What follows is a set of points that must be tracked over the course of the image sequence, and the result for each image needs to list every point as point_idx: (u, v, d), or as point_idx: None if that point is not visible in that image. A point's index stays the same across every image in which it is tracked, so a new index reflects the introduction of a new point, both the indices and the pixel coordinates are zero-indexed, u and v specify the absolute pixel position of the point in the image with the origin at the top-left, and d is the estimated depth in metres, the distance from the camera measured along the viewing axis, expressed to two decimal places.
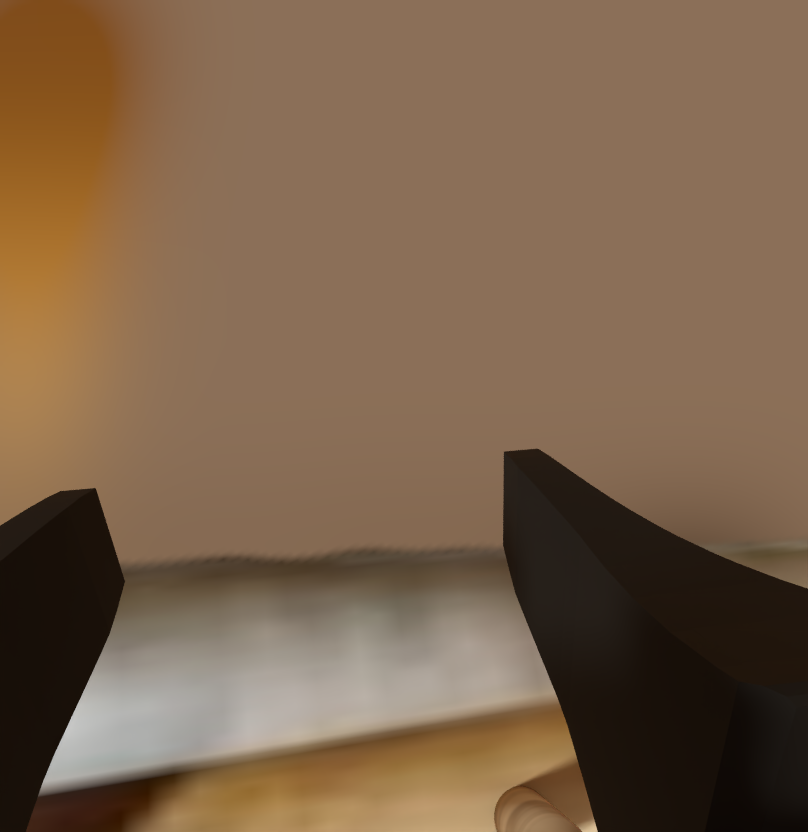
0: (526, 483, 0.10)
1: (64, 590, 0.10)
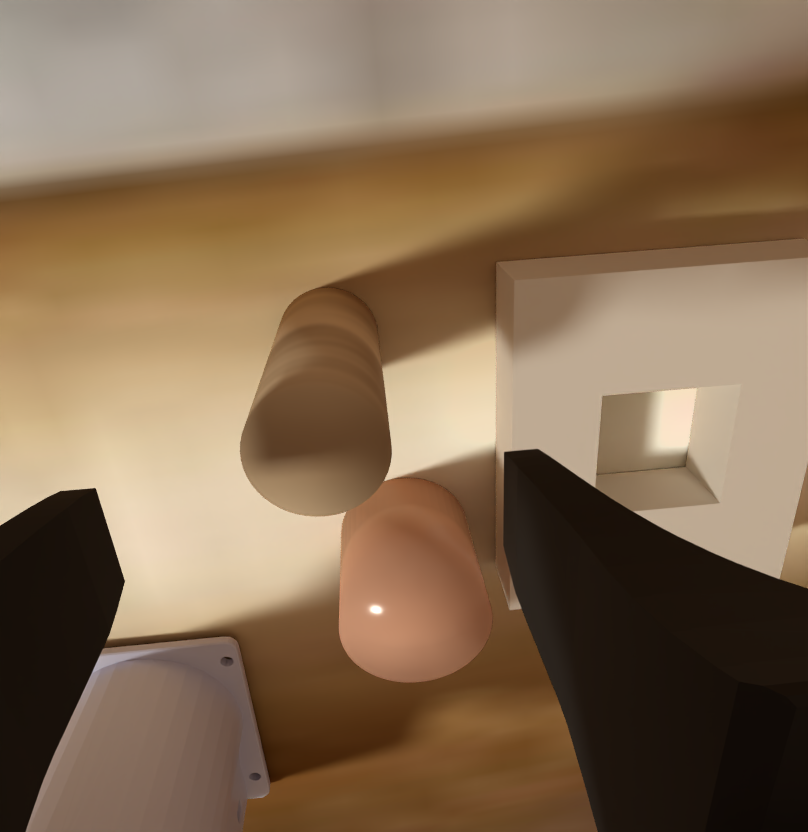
0: (526, 483, 0.10)
1: (64, 590, 0.10)
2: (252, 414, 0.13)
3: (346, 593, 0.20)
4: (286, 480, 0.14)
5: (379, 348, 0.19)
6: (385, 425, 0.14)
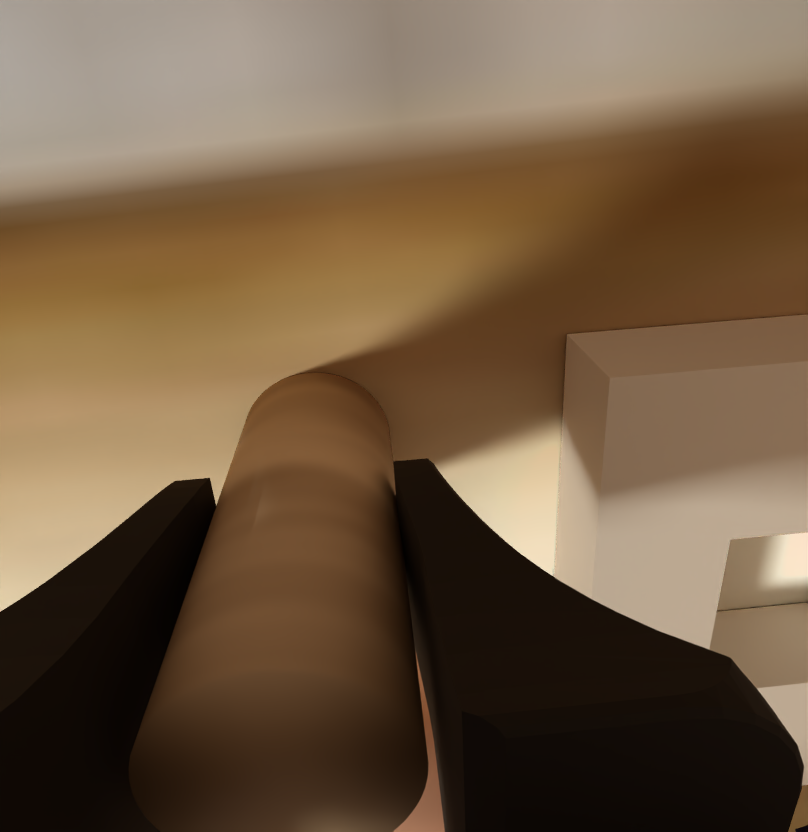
0: (400, 495, 0.10)
1: None
2: (148, 724, 0.06)
3: None
4: (225, 820, 0.07)
5: None
6: (417, 727, 0.07)
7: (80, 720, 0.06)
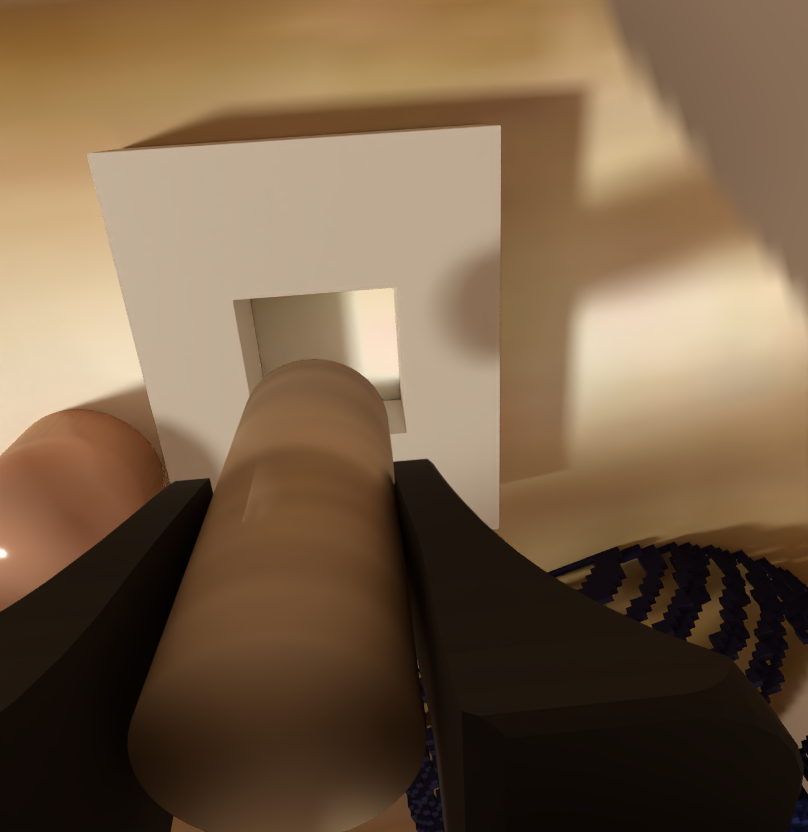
0: (400, 494, 0.10)
1: None
2: (142, 701, 0.06)
3: None
4: (227, 795, 0.07)
5: (391, 457, 0.12)
6: (411, 694, 0.07)
7: (79, 720, 0.06)
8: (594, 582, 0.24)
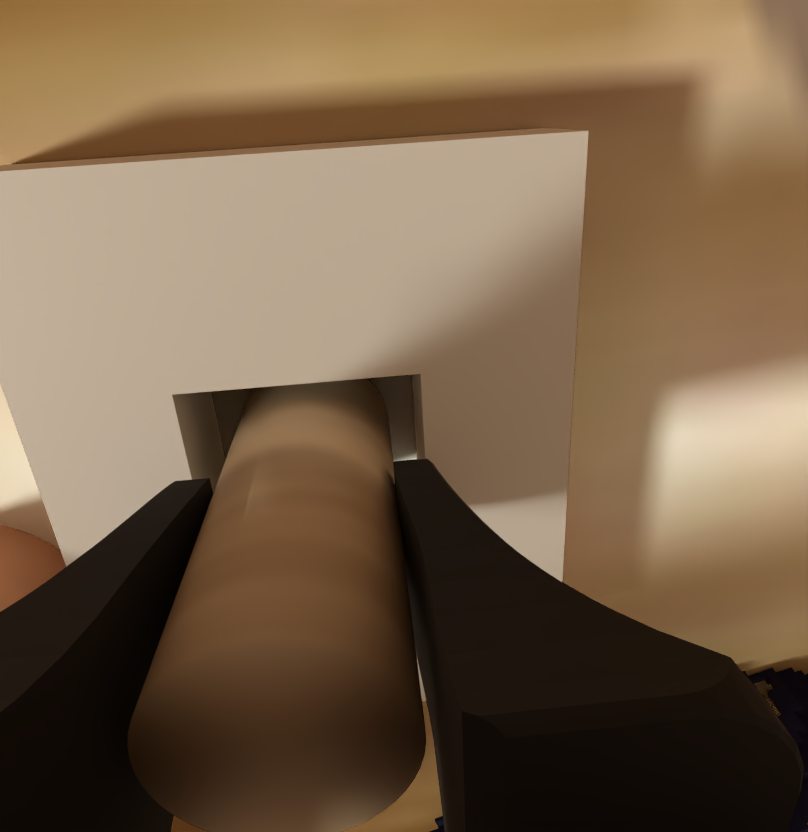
0: (400, 494, 0.10)
1: None
2: (142, 701, 0.07)
3: None
4: (227, 795, 0.07)
5: (391, 456, 0.12)
6: (411, 693, 0.07)
7: (80, 720, 0.06)
8: None
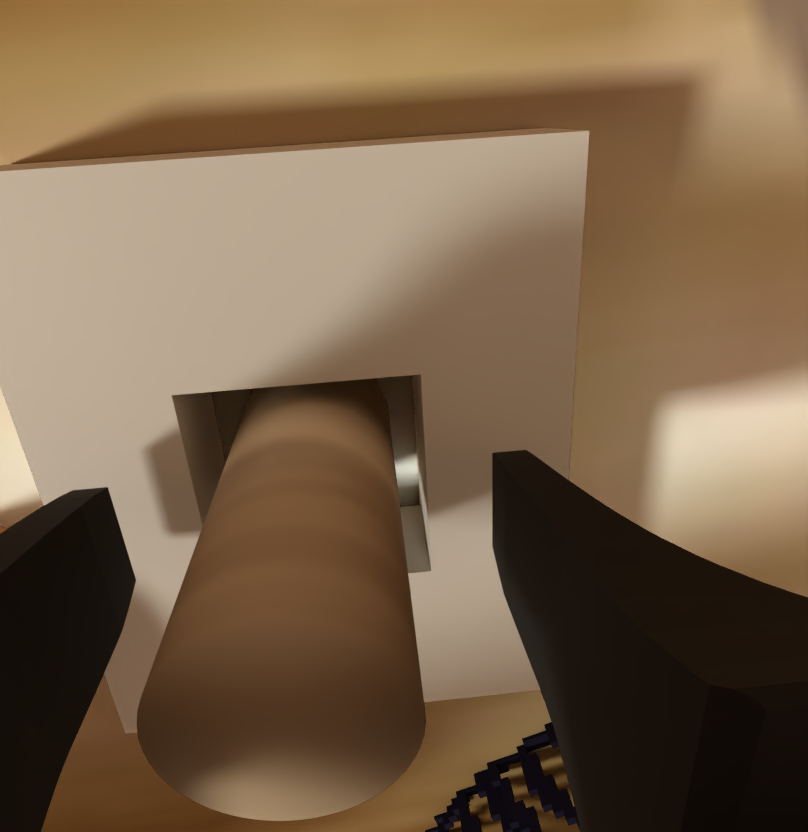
0: (513, 484, 0.10)
1: (78, 589, 0.10)
2: (151, 680, 0.07)
3: None
4: (233, 773, 0.07)
5: (391, 450, 0.12)
6: (411, 674, 0.07)
7: None
8: None
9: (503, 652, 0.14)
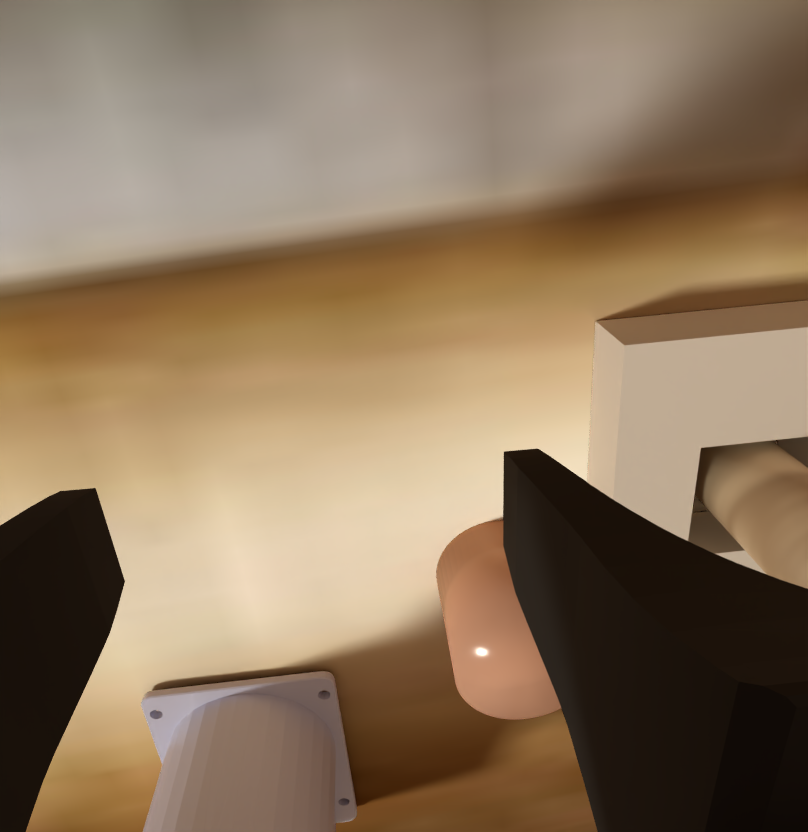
0: (526, 483, 0.10)
1: (64, 590, 0.10)
2: None
3: (461, 638, 0.21)
4: None
5: None
6: None
7: None
8: None
9: None
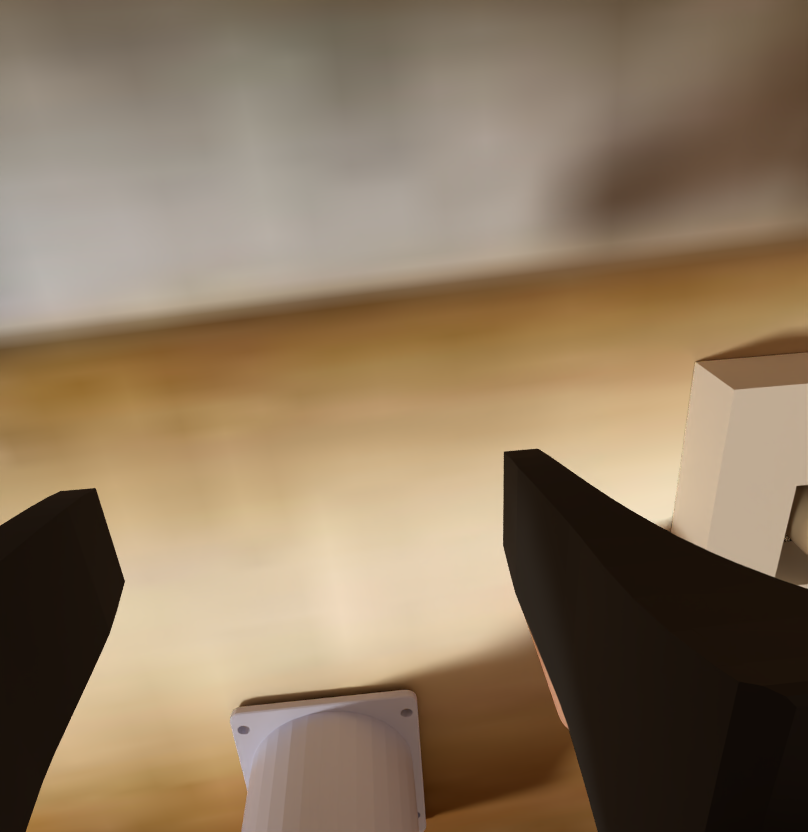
0: (526, 483, 0.10)
1: (64, 590, 0.10)
2: None
3: None
4: None
5: None
6: None
7: None
8: None
9: None
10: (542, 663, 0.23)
